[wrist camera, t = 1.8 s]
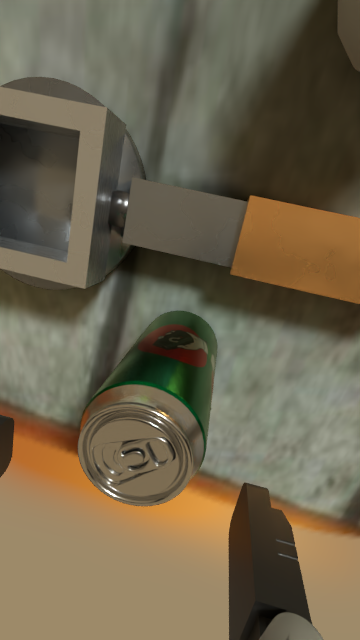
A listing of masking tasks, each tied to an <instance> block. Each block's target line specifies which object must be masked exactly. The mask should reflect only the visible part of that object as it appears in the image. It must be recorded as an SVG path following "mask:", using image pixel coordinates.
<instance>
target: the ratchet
mask: <svg viewBox="0 0 360 640" xmlns="http://www.w3.org/2000/svg"><path fill="white" fill-rule="evenodd" d="M134 246H139V247H144V248H148V249H152V250H157V251H161V252H166V253H170V254H174V255H179V256H183V257H187V258H192V259H196V260H201V261H205V262H209V263H214V264H218V265H222V266H227V267H230V274H231V275H235V276H240V277H244V278H248V279H253V280H257V281H261V282H266V283H270V284H275V285H279V286H283V287H288V288H292V289H296V290H301V291H305V292H309V293H314V294H318V295H322V296H327V297H331V298H335V299H340V300H344V301H348V302H353V303H357V304H360V218H357V217H352V216H347V215H342V214H338V213H333V212H328V211H323V210H318V209H314V208H309V207H304V206H299V205H295V204H290V203H285V202H280V201H276V200H271V199H266V198H261V197H257V196H252V195H250V196H249V198H248V200H247V201H242V200H237V199H233V198H228V197H223V196H218V195H214V194H209V193H204V192H199V191H195V190H190V189H185V188H181V187H176V186H171V185H166V184H162V183H157V182H152V181H147V180H146V177H145V171H144V167H143V164H142V160H141V157H140V155H139V152H138V150H137V147H136V145H135V143H134V142H133V140H132V138H131V136H130V134H129V133H128V131H127V130H126V124H125V123H124V122H123V121H121V120H120V119H119V118H118V117H117V116H116V115H115V114H114V113H113V112H111V111H110V110H109V109H108V108H107V107H105V106H104V105H103V104H102V103H100V102H99V101H98V100H97V99H96V98H94V97H93V96H92V95H90V94H89V93H87V92H86V91H84V90H83V89H81V88H79V87H77V86H75V85H72V84H70V83H68V82H65V81H61V80H58V79H54V78H46V77H28V78H23V79H18V80H14V81H11V82H9V83H6V84H4V85H2V86H0V269H1V270H3V271H4V272H5V273H7V274H8V275H10V276H12V277H13V278H15V279H17V280H19V281H21V282H24V283H26V284H29V285H32V286H35V287H39V288H44V289H55V290H62V289H71V288H75V287H79V288H83V289H86V288H88V287H90V286H93V285H95V284H97V283H99V282H101V281H103V280H105V275H107V274H108V273H110V272H111V271H113V270H114V269H115V268H116V267H118V266H119V265H120V264H121V263H122V262H123V261H124V260H125V259H126V257H127V256H128V255H129V253H130V252H131V250H132V249H133V247H134Z"/></svg>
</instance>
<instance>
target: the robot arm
mask: <svg viewBox="0 0 360 640" xmlns="http://www.w3.org/2000/svg"><path fill="white" fill-rule="evenodd" d="M13 434H14V420H13V418H10V417H6V416H2V415H0V477H1V476H2V475H3V474H4V472H5V471H6V469H7V467H8V465H9V463H10V461H11V457H12V448H13ZM229 640H323V638H322V637H321V635H320V633H319V632H318V631H317V630H316V628H315V627H314V626H313V625H312V622H311V618H310V613H309V609H308V604H307V599H306V594H305V589H304V585H303V580H302V575H301V570H300V566H299V562H298V556H297V551H296V547H295V542H294V537H293V532H292V527H291V525H290V524H289V522H288V520H287V519H286V517H285V515H284V513H283V512H282V511H281V510H278V509H274V508H271V503H270V497H269V491H268V489H267V488H263V487H260V486H256V485H252V484H249V483H244V484H243V486H242V489H241V492H240V495H239V498H238V501H237V504H236V506H235V509H234V512H233V516H232V519H231V523H230V529H229Z"/></svg>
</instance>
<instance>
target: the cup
mask: <svg viewBox="0 0 360 640" xmlns="http://www.w3.org/2000/svg"><path fill="white" fill-rule="evenodd" d="M338 35H339V37H340V40H341V42H342V44H343V46H344V48H345V50H346V52H347V55H348V57H349V59H350V61H351V63H352V65H353V67H354V69H356V70H357V71H359V72H360V0H338Z"/></svg>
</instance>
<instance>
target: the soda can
mask: <svg viewBox="0 0 360 640" xmlns="http://www.w3.org/2000/svg"><path fill="white" fill-rule="evenodd" d="M216 358H217V340H216V337H215V334H214V332H213V330H212V328H211V327H210V326H209V324H208V323H207V322H206V321H205V320H203V319H202V318H201V317H199V316H197V315H195V314H193V313H190V312H186V311H171V312H167V313H164V314H162V315H160V316H159V317H157V318H156V319H155V320H154V321H153V322H152V323H151V324H150V325H149V327H148V328H147V329H146V330H145V332H144V333H143V334H142V335H141V337H140V338H139V339H138V340H137V342H136V343H135V344H134V346H133V347H132V348H131V349H130V351H129V352H128V353H127V354H126V356H125V357H124V358H123V359H122V361H121V362H120V363H119V365H118V366H117V367H116V368H115V370H114V371H113V372H112V373H111V375H110V376H109V377H108V378H107V380H106V381H105V382H104V384H103V385H102V386H101V387H100V389H99V390H98V391H97V392H96V394H95V395H94V396H93V397H92V399H91V400H90V401H89V403H88V404H87V406H86V408H85V410H84V412H83V414H82V418H81V423H80V436H79V440H78V457H79V460H80V464H81V466H82V468H83V471H84V472H85V474H86V476H87V477H88V478H89V480H90V481H91V482H92V483H93V484H94V486H96V487H97V488H98V489H99V490H100V491H101V492H103V493H104V494H106V495H107V496H109V497H111V498H113V499H115V500H117V501H119V502H122V503H126V504H129V505H135V506H153V505H159V504H162V503H165V502H167V501H169V500H171V499H173V498H174V497H176V496H177V495H179V494H180V493H181V492H182V491H183V490H184V488H185V487H186V485H187V484H188V482H189V480H190V479H191V478H192V477H193V476H194V475H195V474H196V473H197V471H198V470H199V468H200V467H201V465H202V462H203V460H204V457H205V452H206V445H207V436H208V428H209V419H210V410H211V402H212V393H213V384H214V375H215V367H216Z"/></svg>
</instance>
